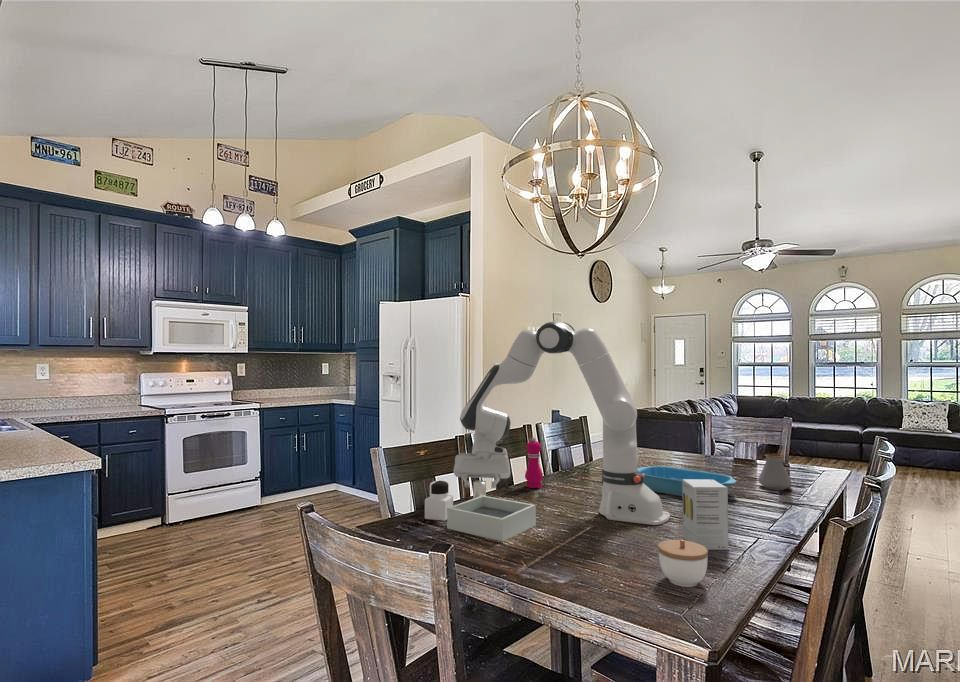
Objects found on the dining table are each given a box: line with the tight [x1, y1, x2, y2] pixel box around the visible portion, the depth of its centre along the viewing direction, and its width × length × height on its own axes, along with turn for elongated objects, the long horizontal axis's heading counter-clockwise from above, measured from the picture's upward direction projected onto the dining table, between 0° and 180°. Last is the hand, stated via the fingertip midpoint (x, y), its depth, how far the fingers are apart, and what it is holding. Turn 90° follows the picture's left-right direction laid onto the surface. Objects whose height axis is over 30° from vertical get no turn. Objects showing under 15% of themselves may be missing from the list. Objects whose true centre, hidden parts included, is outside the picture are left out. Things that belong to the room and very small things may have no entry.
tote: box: [446, 495, 537, 542], centre depth 160 cm, size 20×18×7 cm
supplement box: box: [682, 479, 729, 551], centre depth 147 cm, size 10×9×17 cm
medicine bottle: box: [424, 480, 454, 522], centre depth 171 cm, size 7×7×12 cm
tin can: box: [472, 480, 487, 499], centre depth 183 cm, size 4×4×9 cm
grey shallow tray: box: [471, 507, 514, 518], centre depth 160 cm, size 17×15×3 cm
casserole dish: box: [637, 465, 737, 498], centre depth 205 cm, size 37×22×7 cm, turn 51°
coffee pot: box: [757, 445, 792, 491], centre depth 214 cm, size 21×12×15 cm, turn 139°
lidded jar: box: [657, 539, 709, 588], centre depth 122 cm, size 11×11×9 cm
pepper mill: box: [524, 436, 544, 489], centre depth 213 cm, size 7×7×20 cm
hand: (480, 486), depth 185 cm, fingers open, 8 cm apart
